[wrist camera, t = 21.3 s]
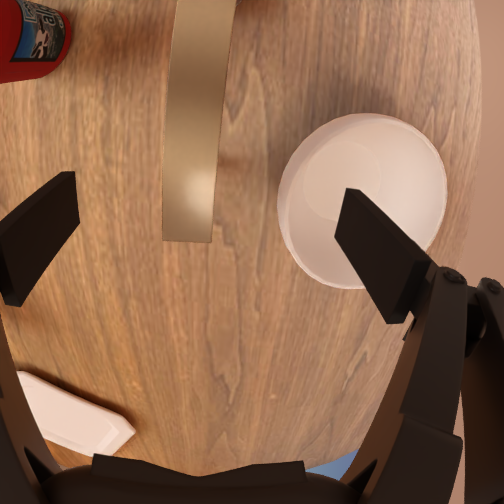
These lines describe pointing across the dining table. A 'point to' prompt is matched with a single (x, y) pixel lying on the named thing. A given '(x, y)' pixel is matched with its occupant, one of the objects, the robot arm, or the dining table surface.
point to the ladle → (194, 117)
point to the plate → (74, 418)
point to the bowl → (358, 177)
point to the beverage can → (31, 40)
